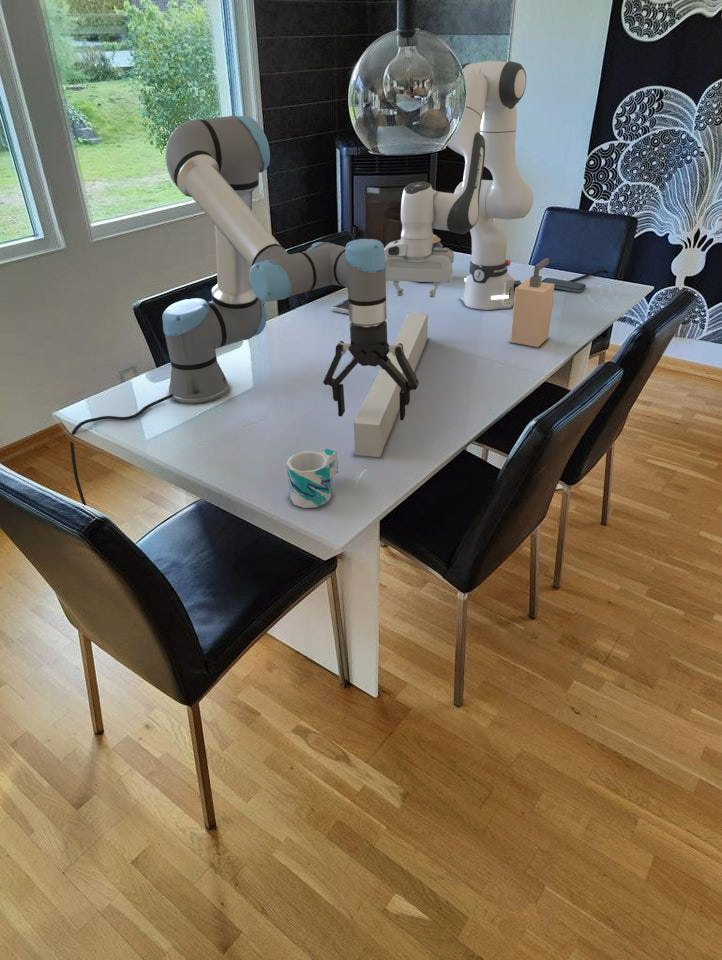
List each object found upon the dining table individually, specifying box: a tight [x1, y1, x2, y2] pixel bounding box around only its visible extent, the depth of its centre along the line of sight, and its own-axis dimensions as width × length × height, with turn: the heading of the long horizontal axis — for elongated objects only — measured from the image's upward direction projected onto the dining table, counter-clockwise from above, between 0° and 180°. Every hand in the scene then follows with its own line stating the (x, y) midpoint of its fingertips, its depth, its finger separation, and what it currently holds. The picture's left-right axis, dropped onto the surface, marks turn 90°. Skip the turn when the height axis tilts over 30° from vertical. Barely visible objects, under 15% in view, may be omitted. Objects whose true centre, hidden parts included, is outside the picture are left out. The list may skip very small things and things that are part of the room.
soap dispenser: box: [510, 257, 555, 348], centre depth 195 cm, size 13×9×22 cm
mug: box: [286, 448, 339, 509], centre depth 133 cm, size 8×12×8 cm
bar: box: [353, 312, 429, 458], centre depth 174 cm, size 71×6×8 cm, turn 167°
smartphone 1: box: [331, 298, 349, 315], centre depth 231 cm, size 8×1×15 cm
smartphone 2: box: [541, 277, 587, 293], centre depth 241 cm, size 8×2×15 cm
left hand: (371, 415), depth 146 cm, fingers open, 13 cm apart
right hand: (416, 296), depth 193 cm, fingers open, 8 cm apart
